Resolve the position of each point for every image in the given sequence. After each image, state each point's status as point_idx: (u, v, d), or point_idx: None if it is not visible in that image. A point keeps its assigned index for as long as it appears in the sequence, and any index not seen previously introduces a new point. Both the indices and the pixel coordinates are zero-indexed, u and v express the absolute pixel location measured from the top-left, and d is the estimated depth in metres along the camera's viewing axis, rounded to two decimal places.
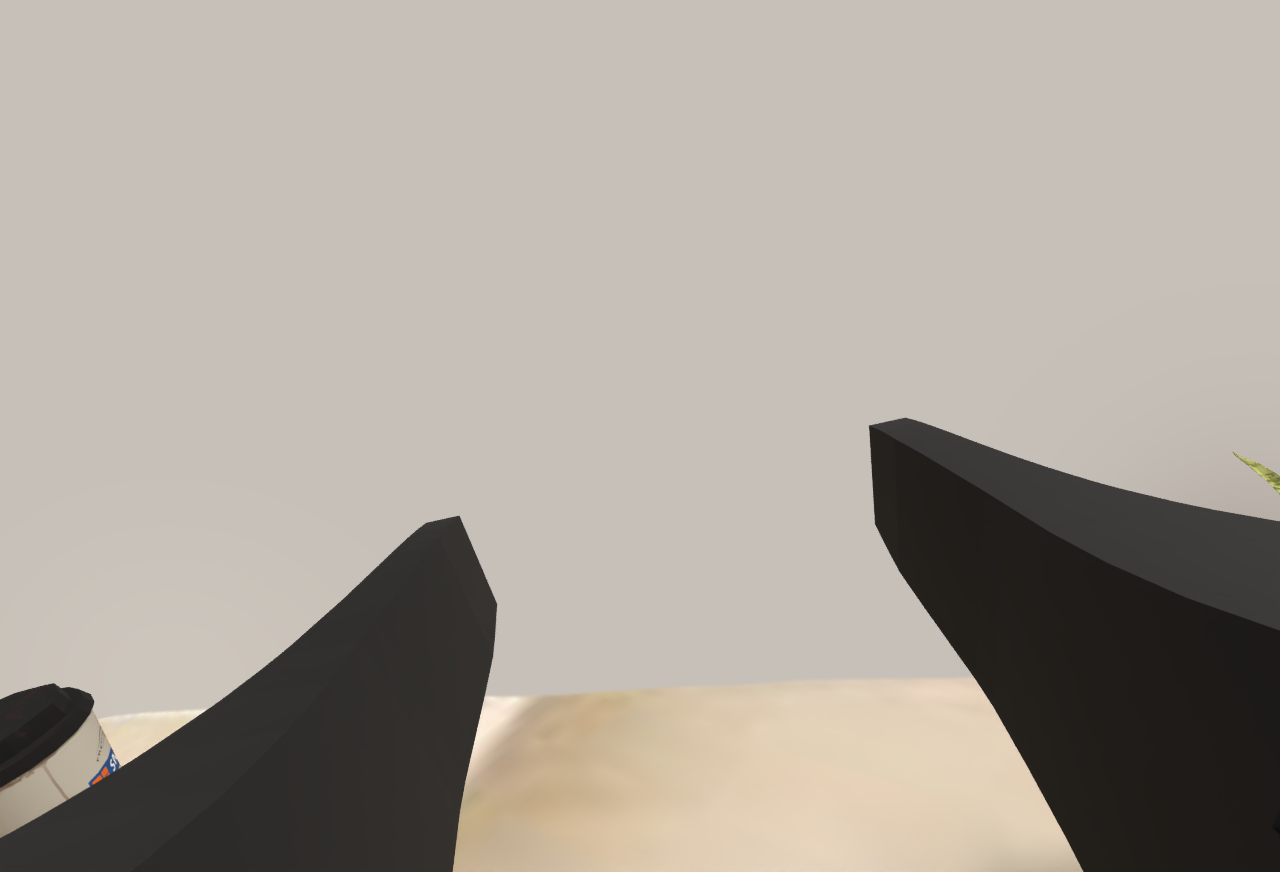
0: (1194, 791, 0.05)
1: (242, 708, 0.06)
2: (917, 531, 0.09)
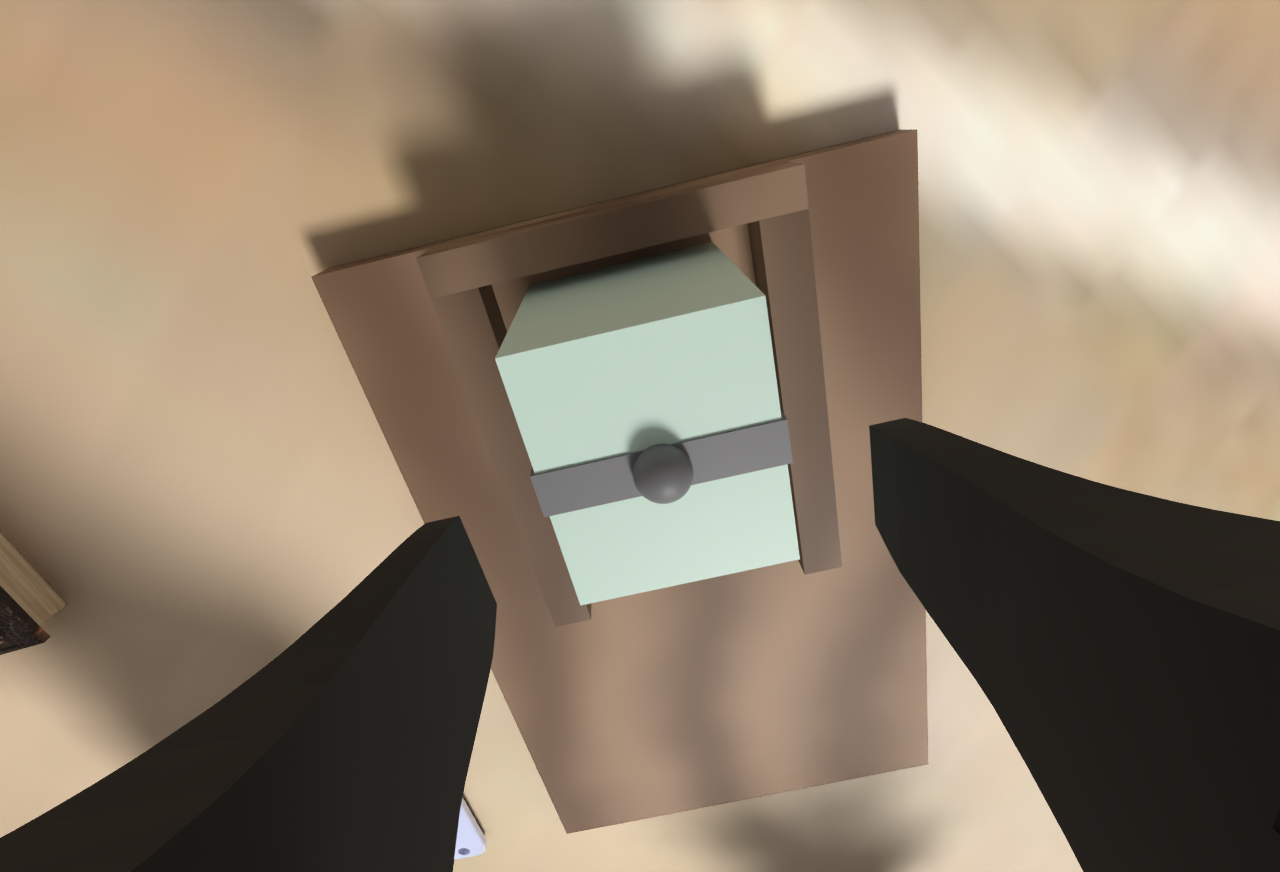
0: (1195, 791, 0.05)
1: (242, 708, 0.06)
2: (917, 531, 0.09)
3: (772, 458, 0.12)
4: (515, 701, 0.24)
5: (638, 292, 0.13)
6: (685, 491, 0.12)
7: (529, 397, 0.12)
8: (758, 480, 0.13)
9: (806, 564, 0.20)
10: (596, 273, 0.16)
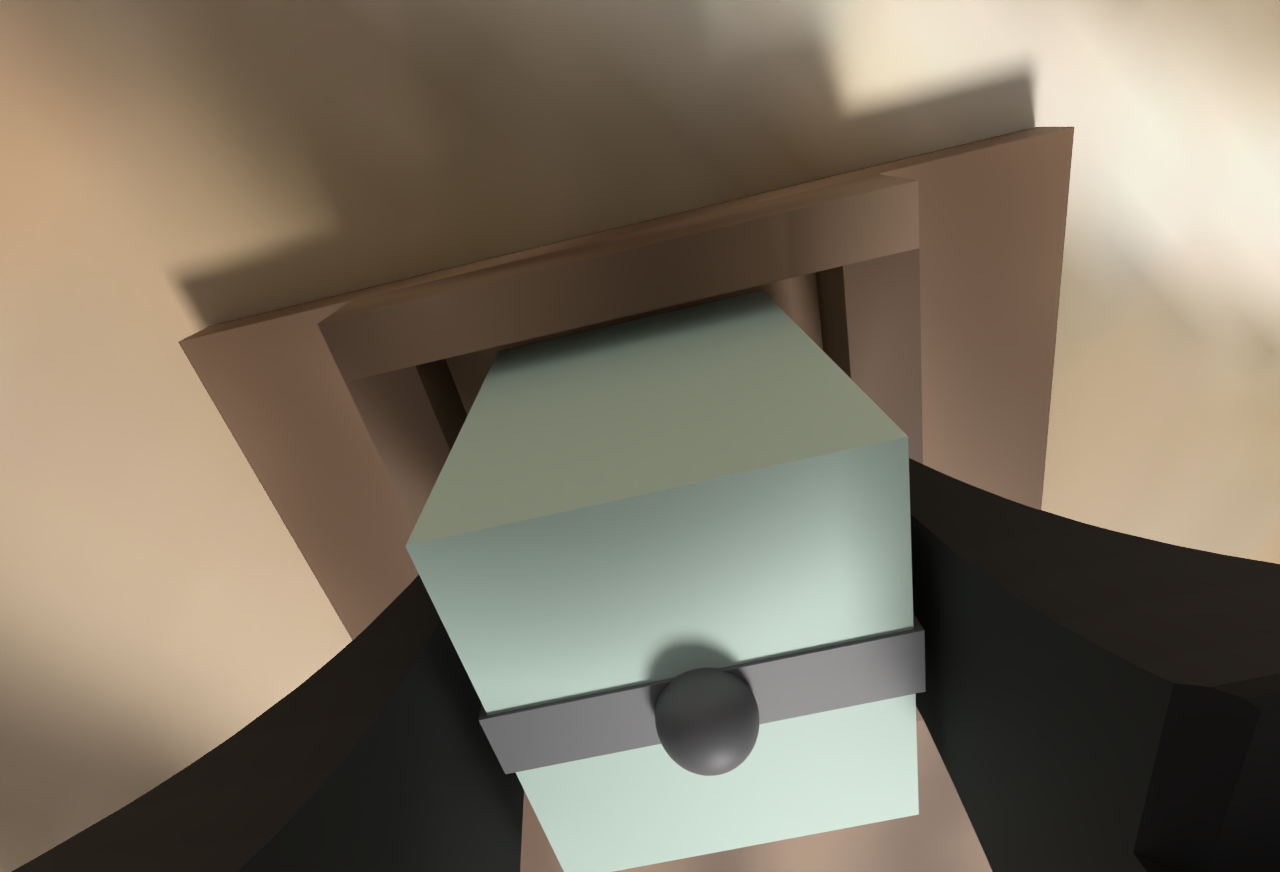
0: (1074, 813, 0.05)
1: (329, 691, 0.06)
2: None
3: (892, 686, 0.07)
4: None
5: (661, 392, 0.08)
6: (747, 756, 0.07)
7: (472, 605, 0.06)
8: (864, 715, 0.08)
9: None
10: (594, 338, 0.11)
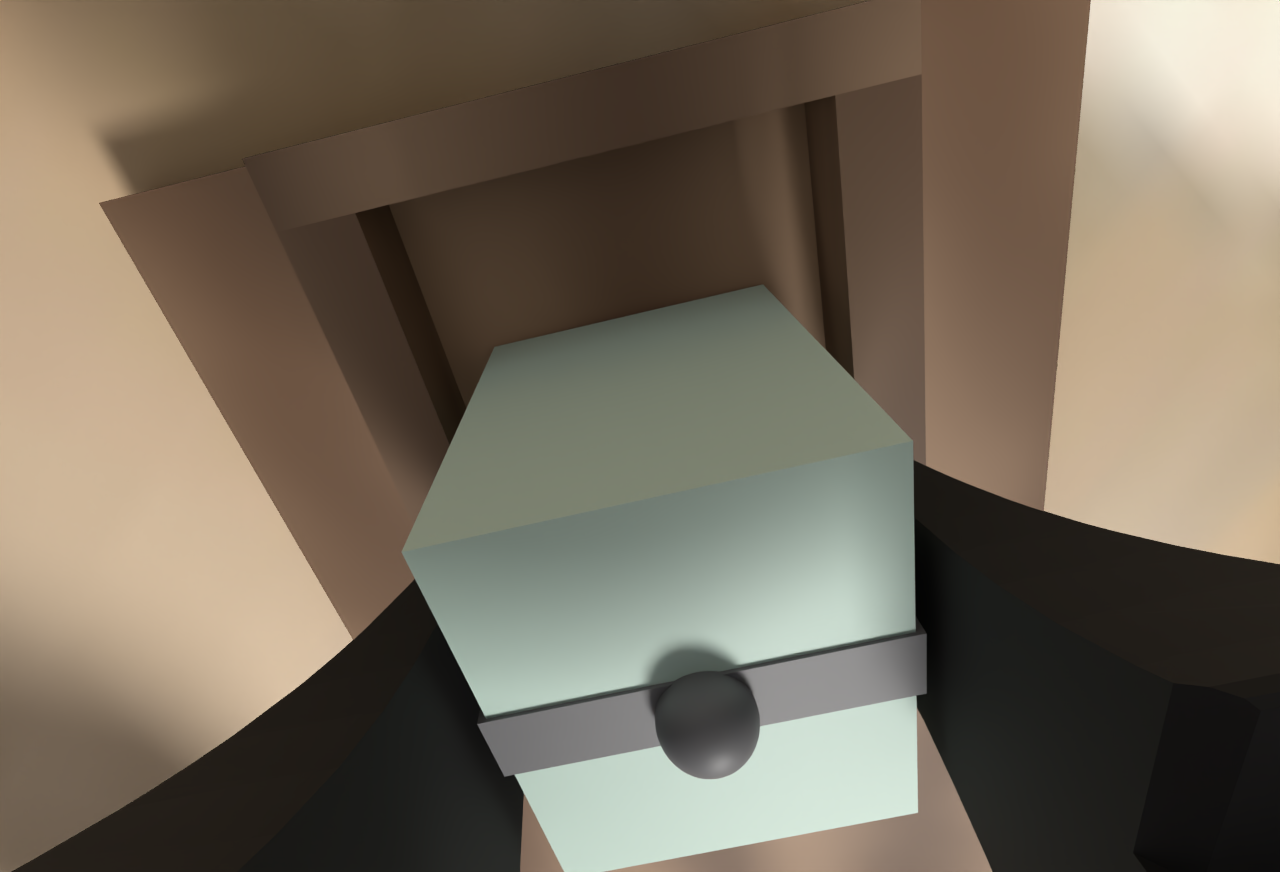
0: (1075, 813, 0.05)
1: (329, 690, 0.06)
2: None
3: (893, 688, 0.07)
4: None
5: (661, 391, 0.08)
6: (747, 759, 0.07)
7: (469, 610, 0.06)
8: (865, 717, 0.08)
9: None
10: (592, 333, 0.11)
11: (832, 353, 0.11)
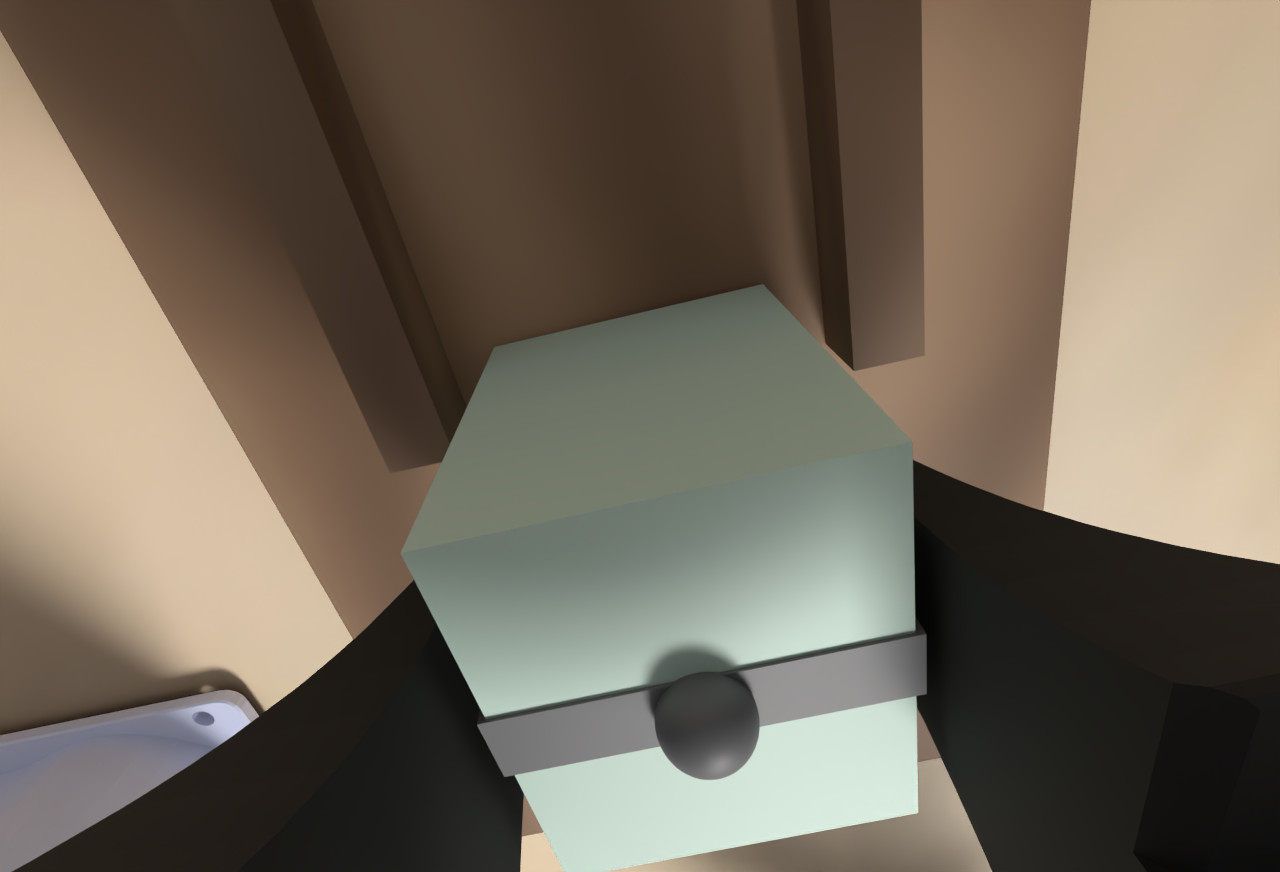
0: (1075, 813, 0.05)
1: (327, 691, 0.06)
2: None
3: (893, 688, 0.07)
4: None
5: (660, 391, 0.08)
6: (747, 760, 0.07)
7: (469, 611, 0.06)
8: (865, 716, 0.08)
9: (858, 348, 0.10)
10: (591, 333, 0.11)
11: None
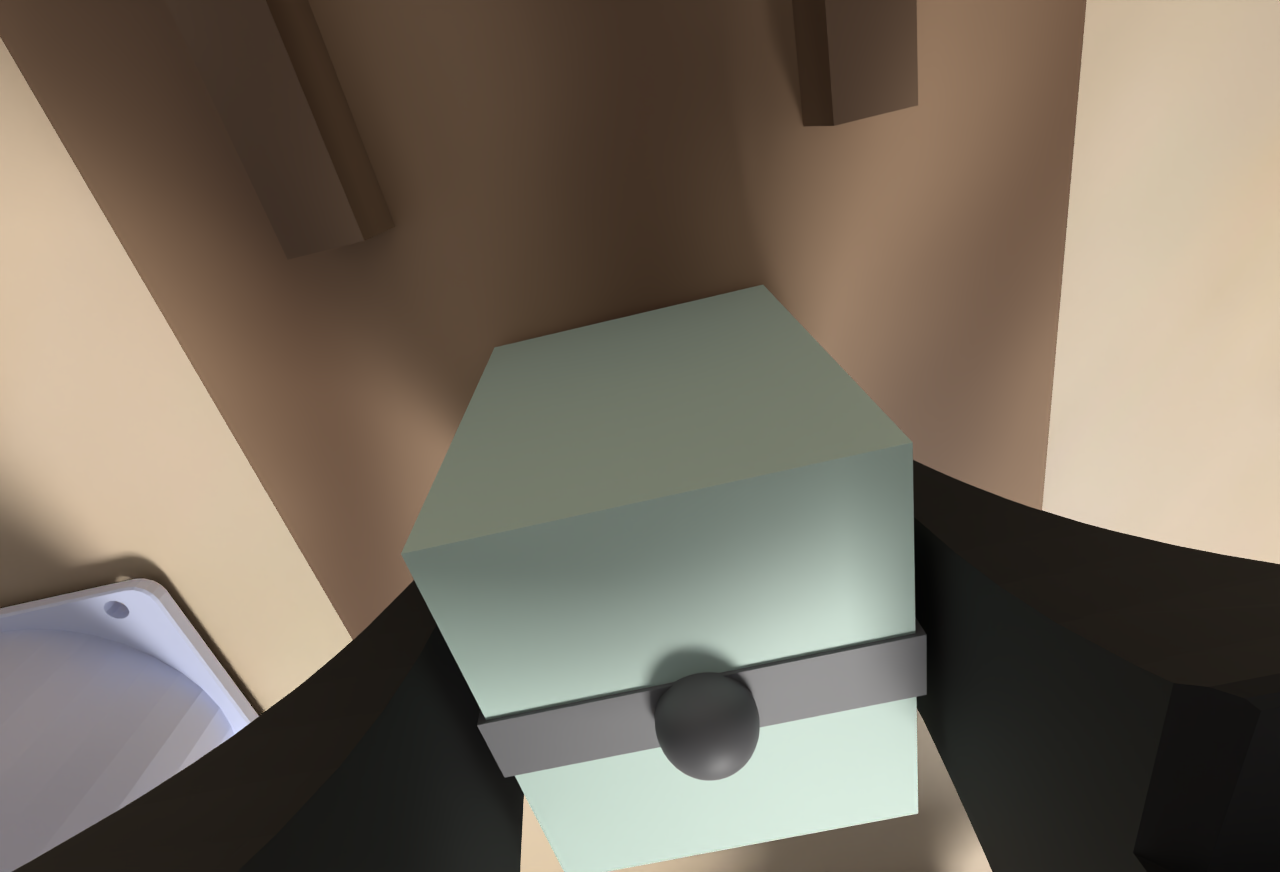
0: (1075, 813, 0.05)
1: (328, 691, 0.06)
2: None
3: (893, 689, 0.07)
4: (287, 498, 0.13)
5: (660, 392, 0.08)
6: (747, 761, 0.07)
7: (469, 612, 0.06)
8: (865, 718, 0.08)
9: (838, 93, 0.09)
10: (591, 334, 0.11)
11: None
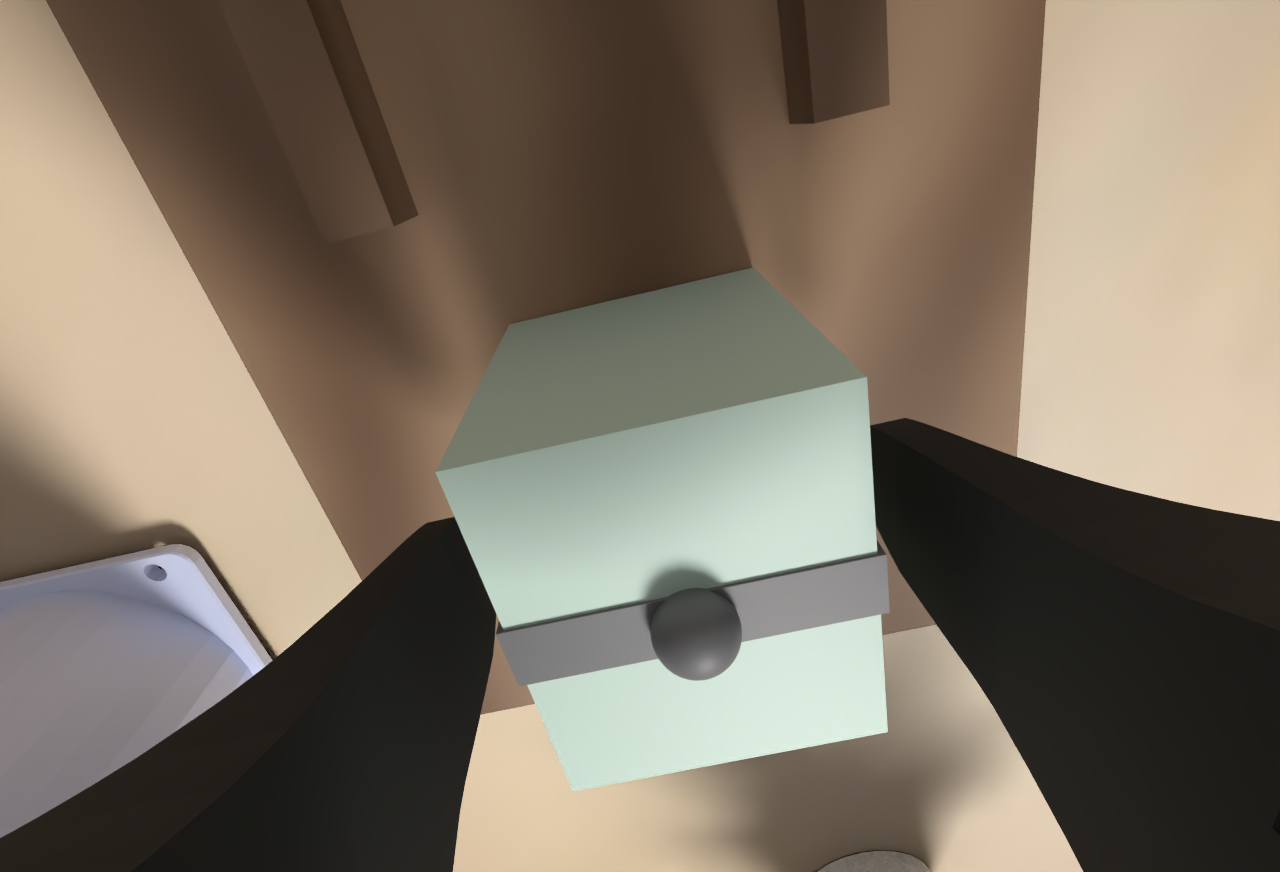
0: (1194, 791, 0.05)
1: (242, 709, 0.06)
2: (917, 531, 0.09)
3: (859, 607, 0.08)
4: (316, 467, 0.14)
5: (657, 351, 0.09)
6: (730, 664, 0.08)
7: (491, 527, 0.07)
8: (835, 635, 0.09)
9: (818, 94, 0.10)
10: (597, 311, 0.12)
11: None
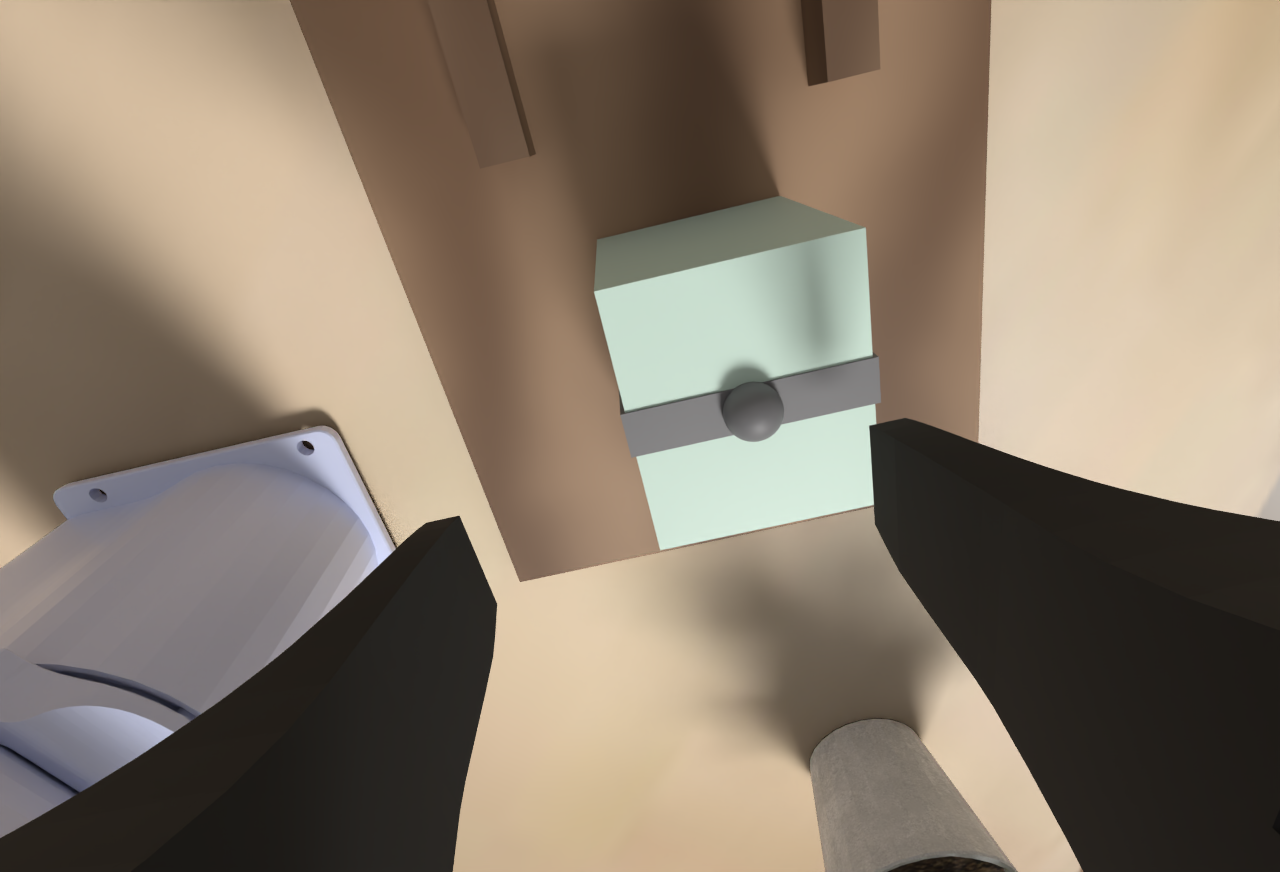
0: (1194, 791, 0.05)
1: (243, 708, 0.06)
2: (917, 531, 0.09)
3: (861, 397, 0.12)
4: (442, 355, 0.18)
5: (722, 235, 0.13)
6: (777, 428, 0.12)
7: (625, 332, 0.12)
8: (845, 421, 0.13)
9: (830, 61, 0.14)
10: (666, 226, 0.16)
11: None
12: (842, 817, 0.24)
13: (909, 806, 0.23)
